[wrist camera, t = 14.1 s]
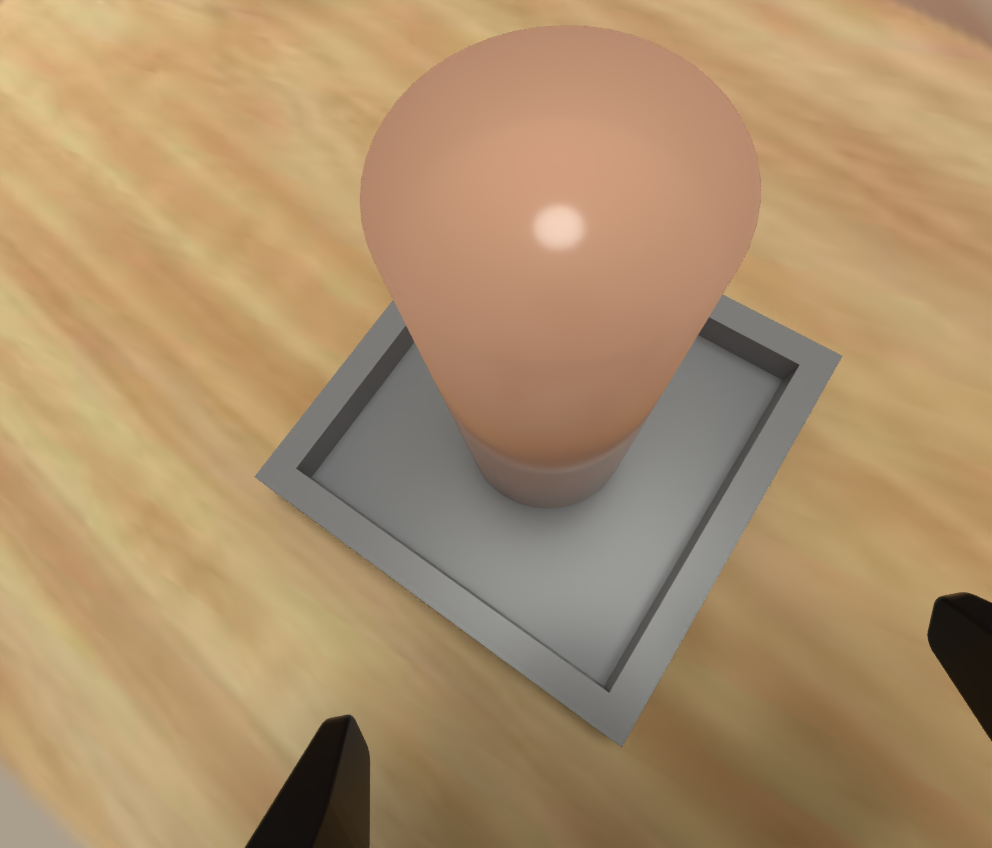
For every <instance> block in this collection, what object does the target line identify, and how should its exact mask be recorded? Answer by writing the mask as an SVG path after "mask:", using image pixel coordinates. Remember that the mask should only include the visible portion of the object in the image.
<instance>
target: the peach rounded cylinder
mask: <svg viewBox="0 0 992 848" xmlns="http://www.w3.org/2000/svg"><path fill="white" fill-rule="evenodd" d="M760 203H761V178H760V171H759V165H758V158H757V155H756V151H755V148H754V145H753V142H752V139H751V136H750V134H749V132H748V130H747V128H746V126H745V124H744V122H743V120H742V118H741V116H740V114H739V113H738V111H737V110H736V108H735V107H734V105H733V104H732V103H731V101H730V100H729V98H728V97H727V96H726V95H725V94H724V92H723V91H722V90H721V89H720V88H719V87H718V86H717V85H716V84H715V83H714V82H713V81H712V80H711V79H710V78H709V77H708V76H707V75H705V74H704V73H703V72H702V71H701V70H699V69H698V68H697V67H696V66H695V65H693V64H691V63H690V62H688V61H687V60H685V59H684V58H682V57H681V56H679V55H677V54H676V53H674V52H672V51H670V50H668V49H666V48H664V47H662V46H660V45H658V44H656V43H653V42H651V41H648V40H645V39H642V38H639V37H637V36H634V35H631V34H626V33H622V32H618V31H614V30H610V29H603V28H595V27H588V26H562V25H561V26H547V27H536V28H530V29H524V30H518V31H513V32H510V33H506V34H502V35H499V36H495V37H492V38H489V39H486V40H484V41H481V42H479V43H476V44H474V45H471V46H469V47H467V48H465V49H463V50H461V51H459V52H457V53H455V54H453V55H452V56H450V57H448V58H446V59H445V60H443V61H442V62H440V63H439V64H437V65H436V66H434V67H433V68H431V69H430V70H429V71H428V72H426V73H425V74H424V75H423V76H422V77H420V78H419V79H418V80H417V81H416V82H414V83H413V84H412V85H411V86H410V87H409V88H408V89H407V91H406V92H405V93H404V94H403V95H402V96H401V97H400V98H399V99H398V100H397V101H396V103H395V104H394V106H393V107H392V108H391V110H390V111H389V112H388V114H387V115H386V117H385V118H384V120H383V121H382V123H381V125H380V127H379V129H378V131H377V132H376V134H375V136H374V138H373V141H372V143H371V146H370V149H369V151H368V154H367V157H366V160H365V165H364V169H363V174H362V178H361V191H360V209H361V221H362V226H363V230H364V234H365V239H366V243H367V245H368V248H369V250H370V253H371V255H372V258H373V260H374V263H375V265H376V267H377V269H378V271H379V273H380V275H381V277H382V279H383V281H384V283H385V285H386V287H387V289H388V291H389V293H390V295H391V297H392V299H393V301H394V303H395V304H396V306H397V308H398V310H399V312H400V314H401V316H402V318H403V320H404V322H405V324H406V326H407V328H408V330H409V332H410V334H411V336H412V338H413V340H414V342H415V344H416V346H417V348H418V350H419V352H420V354H421V356H422V358H423V360H424V362H425V364H426V366H427V368H428V370H429V372H430V374H431V376H432V378H433V380H434V382H435V384H436V386H437V387H438V389H439V391H440V393H441V395H442V397H443V399H444V401H445V403H446V405H447V407H448V409H449V411H450V413H451V415H452V417H453V419H454V421H455V423H456V425H457V427H458V429H459V431H460V433H461V435H462V437H463V439H464V441H465V443H466V445H467V447H468V449H469V451H470V453H471V455H472V457H473V459H474V461H475V463H476V465H477V466H478V468H479V470H480V472H481V473H482V475H483V476H484V477H485V479H486V480H487V481H488V482H489V483H490V484H491V485H492V486H493V487H494V488H495V489H496V490H497V491H499V492H500V493H501V494H503V495H504V496H506V497H508V498H509V499H511V500H513V501H515V502H518V503H520V504H523V505H527V506H531V507H537V508H559V507H565V506H569V505H572V504H576V503H578V502H580V501H583V500H585V499H587V498H588V497H590V496H592V495H593V494H595V493H596V492H597V491H598V490H600V489H601V488H602V487H603V486H604V485H605V484H606V483H607V482H608V481H609V480H610V478H611V477H612V475H613V474H614V473H615V471H616V469H617V468H618V466H619V464H620V463H621V461H622V460H623V458H624V456H625V455H626V453H627V451H628V450H629V448H630V446H631V445H632V443H633V441H634V440H635V438H636V436H637V435H638V433H639V432H640V430H641V428H642V427H643V425H644V423H645V422H646V420H647V418H648V417H649V415H650V413H651V412H652V410H653V408H654V407H655V405H656V403H657V402H658V400H659V399H660V397H661V395H662V394H663V392H664V390H665V389H666V387H667V385H668V384H669V382H670V380H671V379H672V377H673V375H674V374H675V372H676V371H677V369H678V367H679V366H680V364H681V362H682V361H683V359H684V357H685V356H686V354H687V352H688V351H689V349H690V347H691V346H692V344H693V342H694V341H695V339H696V338H697V336H698V334H699V333H700V331H701V329H702V328H703V326H704V324H705V323H706V321H707V319H708V318H709V316H710V314H711V313H712V311H713V310H714V308H715V306H716V305H717V303H718V301H719V300H720V298H721V296H722V295H723V293H724V291H725V290H726V288H727V286H728V285H729V283H730V282H731V280H732V278H733V277H734V275H735V273H736V272H737V270H738V268H739V266H740V264H741V262H742V260H743V258H744V257H745V255H746V253H747V251H748V249H749V246H750V243H751V241H752V238H753V235H754V232H755V229H756V226H757V220H758V214H759V208H760Z"/></svg>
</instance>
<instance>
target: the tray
mask: <svg viewBox="0 0 992 848" xmlns="http://www.w3.org/2000/svg"><path fill="white" fill-rule="evenodd" d="M841 358H842V355H840V354H838V353H836V352H834V351H832V350H830V349H828V348H826V347H824V346H822V345H820V344H818V343H816V342H814V341H812V340H810V339H808V338H806V337H804V336H803V335H801V334H799V333H797V332H795V331H793V330H791V329H789V328H787V327H785V326H783V325H781V324H779V323H777V322H775V321H773V320H771V319H769V318H767V317H765V316H764V315H762V314H760V313H758V312H756V311H754V310H752V309H750V308H748V307H746V306H744V305H742V304H740V303H738V302H736V301H734V300H732V299H730V298H728V297H726V296H725V295H722V296H721V298H720V300H719V301H718V303H717V305H716V306H715V308H714V310H713V311H712V313H711V314H710V316H709V318H708V319H707V321H706V323H705V324H704V326H703V328H702V329H701V331H700V333H699V334H698V336H697V338H696V339H695V341H694V342H693V344H692V346H691V347H690V349H689V351H688V352H687V354H686V356H685V357H684V359H683V361H682V362H681V364H680V366H679V367H678V369H677V371H676V372H675V374H674V375H673V377H672V379H671V380H670V382H669V384H668V385H667V387H666V389H665V390H664V392H663V394H662V395H661V397H660V399H659V400H658V402H657V403H656V405H655V407H654V408H653V410H652V412H651V413H650V415H649V417H648V418H647V420H646V422H645V423H644V425H643V427H642V428H641V430H640V432H639V433H638V435H637V436H636V438H635V440H634V441H633V443H632V445H631V446H630V448H629V450H628V451H627V453H626V455H625V456H624V458H623V460H622V461H621V463H620V464H619V466H618V468H617V469H616V471H615V473H614V474H613V475H612V477H611V478H610V480H609V481H608V482H607V483H606V484H605V485H604V486H603V487H602V488H601V489H600V490H598V491H597V492H596V493H595V494H593V495H592V496H590V497H588V498H587V499H585V500H583V501H580V502H578V503H576V504H572V505H569V506H565V507H559V508H537V507H531V506H527V505H523V504H520V503H518V502H515V501H513V500H511V499H509V498H508V497H506V496H504V495H503V494H501V493H500V492H499V491H497V490H496V489H495V488H494V487H493V486H492V485H491V484H490V483H489V482H488V481H487V480H486V479H485V477H484V476H483V475H482V473H481V472H480V470H479V468H478V466H477V465H476V463H475V461H474V459H473V457H472V455H471V453H470V451H469V449H468V447H467V445H466V443H465V441H464V439H463V437H462V435H461V433H460V431H459V429H458V427H457V425H456V423H455V421H454V419H453V417H452V415H451V413H450V411H449V409H448V407H447V405H446V403H445V401H444V399H443V397H442V395H441V393H440V391H439V389H438V387H437V386H436V384H435V382H434V380H433V378H432V376H431V374H430V372H429V370H428V368H427V366H426V364H425V362H424V360H423V358H422V356H421V354H420V352H419V350H418V348H417V346H416V344H415V342H414V340H413V338H412V336H411V334H410V332H409V330H408V328H407V326H406V324H405V322H404V320H403V318H402V316H401V314H400V312H399V310H398V308H397V306H396V304H395V303H394V301H392V302H391V303H390V305H389V306H388V307H387V308H386V310H385V311H384V312H383V314H382V315H381V316H380V317H379V319H378V320H377V321H376V323H375V324H374V325H373V326H372V328H371V329H370V330H369V331H368V333H367V334H366V335H365V337H364V338H363V339H362V340H361V342H360V343H359V344H358V346H357V347H356V348H355V349H354V351H353V352H352V353H351V354H350V356H349V357H348V358H347V360H346V361H345V362H344V363H343V365H342V366H341V367H340V368H339V370H338V371H337V372H336V374H335V375H334V376H333V377H332V379H331V380H330V381H329V383H328V384H327V385H326V386H325V388H324V389H323V390H322V391H321V393H320V394H319V395H318V397H317V398H316V399H315V400H314V402H313V403H312V404H311V405H310V407H309V408H308V409H307V411H306V412H305V413H304V414H303V416H302V417H301V418H300V420H299V421H298V422H297V423H296V425H295V426H294V427H293V428H292V430H291V431H290V432H289V434H288V435H287V436H286V437H285V439H284V440H283V441H282V442H281V444H280V445H279V446H278V448H277V449H276V450H275V451H274V453H273V454H272V455H271V457H270V458H269V459H268V460H267V462H266V463H265V464H264V465H263V467H262V468H261V469H260V471H259V472H258V473H257V474H256V476H255V478H257V479H258V480H259V481H261V482H262V483H263V484H265V485H266V486H267V487H269V488H270V489H272V490H273V491H274V492H276V493H277V494H278V495H280V496H281V497H282V498H284V499H285V500H286V501H288V502H289V503H291V504H292V505H293V506H295V507H296V508H297V509H299V510H300V511H301V512H303V513H304V514H305V515H307V516H308V517H310V518H311V519H312V520H314V521H315V522H316V523H318V524H319V525H320V526H322V527H323V528H324V529H326V530H327V531H329V532H330V533H331V534H333V535H334V536H335V537H337V538H338V539H339V540H341V541H342V542H343V543H345V544H346V545H348V546H349V547H350V548H352V549H353V550H354V551H356V552H357V553H358V554H360V555H361V556H362V557H364V558H365V559H367V560H368V561H369V562H371V563H372V564H373V565H375V566H376V567H377V568H379V569H380V570H381V571H383V572H384V573H386V574H387V575H388V576H390V577H391V578H392V579H394V580H395V581H396V582H398V583H399V584H400V585H402V586H403V587H405V588H406V589H407V590H409V591H410V592H411V593H413V594H414V595H415V596H417V597H418V598H419V599H421V600H422V601H424V602H425V603H426V604H428V605H429V606H430V607H432V608H433V609H434V610H436V611H437V612H438V613H440V614H441V615H443V616H444V617H445V618H447V619H448V620H449V621H451V622H452V623H453V624H455V625H456V626H457V627H459V628H460V629H462V630H463V631H464V632H466V633H467V634H468V635H470V636H471V637H472V638H474V639H475V640H476V641H478V642H479V643H481V644H482V645H483V646H485V647H486V648H487V649H489V650H490V651H491V652H493V653H494V654H495V655H497V656H498V657H500V658H501V659H502V660H504V661H505V662H506V663H508V664H509V665H510V666H512V667H513V668H514V669H516V670H517V671H519V672H520V673H521V674H523V675H524V676H525V677H527V678H528V679H529V680H531V681H532V682H533V683H535V684H536V685H538V686H539V687H540V688H542V689H543V690H544V691H546V692H547V693H548V694H550V695H551V696H552V697H554V698H555V699H557V700H558V701H559V702H561V703H562V704H563V705H565V706H566V707H567V708H569V709H570V710H571V711H573V712H574V713H576V714H577V715H578V716H580V717H581V718H582V719H584V720H585V721H586V722H588V723H589V724H590V725H592V726H593V727H595V728H596V729H597V730H599V731H600V732H601V733H603V734H604V735H605V736H607V737H608V738H609V739H611V740H612V741H614V742H615V743H616V744H618V745H619V746H620V747H622V746H623V744H624V742H625V741H626V739H627V737H628V735H629V733H630V732H631V730H632V728H633V726H634V725H635V723H636V721H637V719H638V718H639V716H640V714H641V712H642V710H643V709H644V707H645V705H646V703H647V702H648V700H649V698H650V696H651V694H652V693H653V691H654V689H655V687H656V686H657V684H658V682H659V680H660V679H661V677H662V675H663V673H664V671H665V670H666V668H667V666H668V664H669V663H670V661H671V659H672V657H673V655H674V654H675V652H676V650H677V648H678V647H679V645H680V643H681V641H682V640H683V638H684V636H685V634H686V632H687V631H688V629H689V627H690V625H691V624H692V622H693V620H694V618H695V616H696V615H697V613H698V611H699V609H700V608H701V606H702V604H703V602H704V601H705V599H706V597H707V595H708V593H709V592H710V590H711V588H712V586H713V585H714V583H715V581H716V579H717V577H718V576H719V574H720V572H721V570H722V569H723V567H724V565H725V563H726V562H727V560H728V558H729V556H730V554H731V553H732V551H733V549H734V547H735V546H736V544H737V542H738V540H739V538H740V537H741V535H742V533H743V531H744V530H745V528H746V526H747V524H748V523H749V521H750V519H751V517H752V515H753V514H754V512H755V510H756V508H757V507H758V505H759V503H760V501H761V499H762V498H763V496H764V494H765V492H766V491H767V489H768V487H769V485H770V484H771V482H772V480H773V478H774V476H775V475H776V473H777V471H778V469H779V468H780V466H781V464H782V462H783V460H784V459H785V457H786V455H787V453H788V452H789V450H790V448H791V446H792V445H793V443H794V441H795V439H796V437H797V436H798V434H799V432H800V430H801V429H802V427H803V425H804V423H805V421H806V420H807V418H808V416H809V414H810V413H811V411H812V409H813V407H814V406H815V404H816V402H817V400H818V398H819V397H820V395H821V393H822V391H823V390H824V388H825V386H826V384H827V382H828V381H829V379H830V377H831V375H832V374H833V372H834V370H835V368H836V367H837V365H838V363H839V361H840V359H841Z"/></svg>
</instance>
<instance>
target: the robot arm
mask: <svg viewBox="0 0 992 848" xmlns="http://www.w3.org/2000/svg"><path fill="white" fill-rule="evenodd" d="M927 636H928V641H929V645H930V647H931V649H932V651H933V653H934V654H935V656H936V657H937V659H938V660H939V662H940V663H941V665H942V666H943V668H944V669H945V671H946V673H947V674H948V676H949V677H950V679H951V680H952V682H953V683H954V685H955V686H956V688H957V689H958V691H959V692H960V694H961V695H962V697H963V698H964V700H965V702H966V703H967V705H968V706H969V708H970V709H971V711H972V712H973V714H974V715H975V717H976V718H977V720H978V721H979V723H980V724H981V726H982V728H983V729H984V731H985V732H986V734H987V735H988V737H989V738H990V739H991V741H992V603H991V602H989V601H987V600H985V599H983V598H980V597H978V596H976V595H973V594H971V593H966V592H960V593H955V594H950V595H945V596H940V597H938V598H937V599H936V600H935V603H934V606H933V610H932V615H931V619H930V624H929V628H928V633H927ZM245 848H370V755H369V750H368V746H367V744H366V741H365V739H364V737H363V735H362V733H361V731H360V729H359V726H358V724H357V722H356V720H355V718H354V717H353V716H352V715H343V716H338V717H333V718H329V719H327V720H325V721H324V722H323V723H322V725H321V726H320V728H319V729H318V731H317V732H316V734H315V736H314V737H313V739H312V740H311V742H310V744H309V745H308V747H307V748H306V750H305V752H304V753H303V755H302V756H301V758H300V760H299V761H298V763H297V764H296V766H295V768H294V769H293V771H292V773H291V774H290V776H289V777H288V779H287V781H286V782H285V784H284V785H283V787H282V789H281V790H280V792H279V793H278V795H277V797H276V798H275V800H274V801H273V803H272V805H271V806H270V808H269V809H268V811H267V813H266V814H265V816H264V817H263V819H262V821H261V822H260V824H259V825H258V827H257V829H256V830H255V832H254V833H253V835H252V837H251V838H250V840H249V842H248V843H247V845H246V846H245Z"/></svg>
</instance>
